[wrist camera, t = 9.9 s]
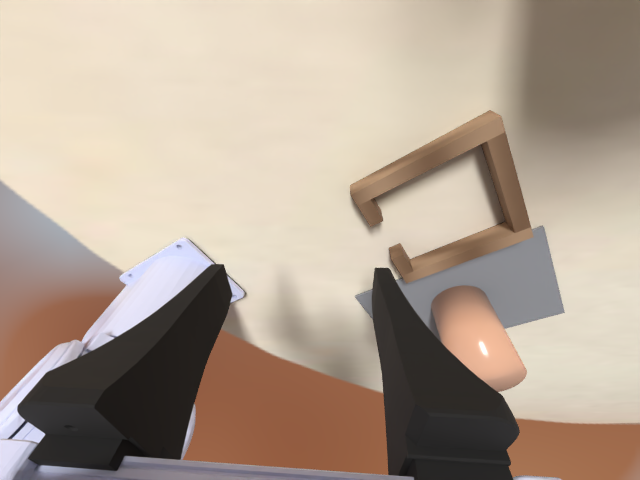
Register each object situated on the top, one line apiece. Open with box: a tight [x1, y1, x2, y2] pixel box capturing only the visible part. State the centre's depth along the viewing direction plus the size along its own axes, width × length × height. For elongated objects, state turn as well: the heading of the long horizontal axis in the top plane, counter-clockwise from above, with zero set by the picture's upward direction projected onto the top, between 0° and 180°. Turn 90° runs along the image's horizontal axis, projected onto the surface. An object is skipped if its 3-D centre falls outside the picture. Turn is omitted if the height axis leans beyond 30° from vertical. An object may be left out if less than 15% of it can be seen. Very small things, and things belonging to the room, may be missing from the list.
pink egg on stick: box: [431, 285, 527, 392], centre depth 25 cm, size 9×5×7 cm, turn 2°
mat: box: [355, 226, 565, 343], centre depth 27 cm, size 16×11×1 cm
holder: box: [350, 110, 534, 284], centre depth 21 cm, size 10×10×2 cm
